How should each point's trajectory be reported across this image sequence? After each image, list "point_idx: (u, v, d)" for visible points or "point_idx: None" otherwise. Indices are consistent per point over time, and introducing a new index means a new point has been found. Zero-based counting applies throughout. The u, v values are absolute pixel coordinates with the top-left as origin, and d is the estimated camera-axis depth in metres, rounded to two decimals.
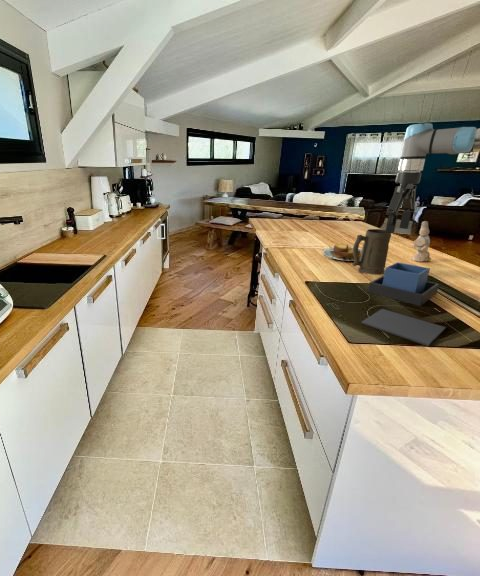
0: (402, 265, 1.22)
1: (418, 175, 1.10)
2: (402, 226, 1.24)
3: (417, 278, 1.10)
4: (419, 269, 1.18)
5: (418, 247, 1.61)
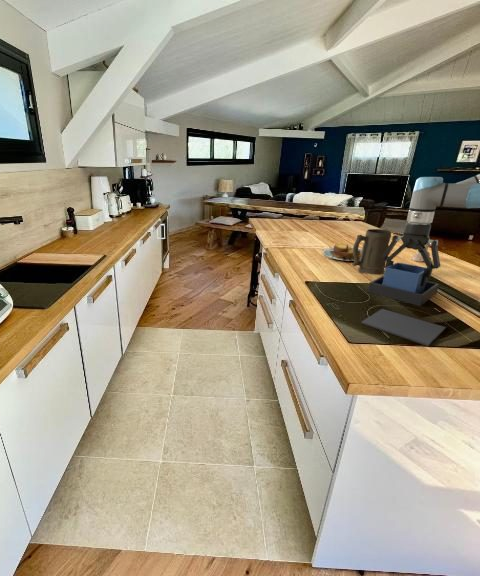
0: (402, 265, 1.22)
1: None
2: None
3: (417, 278, 1.10)
4: (419, 269, 1.18)
5: None
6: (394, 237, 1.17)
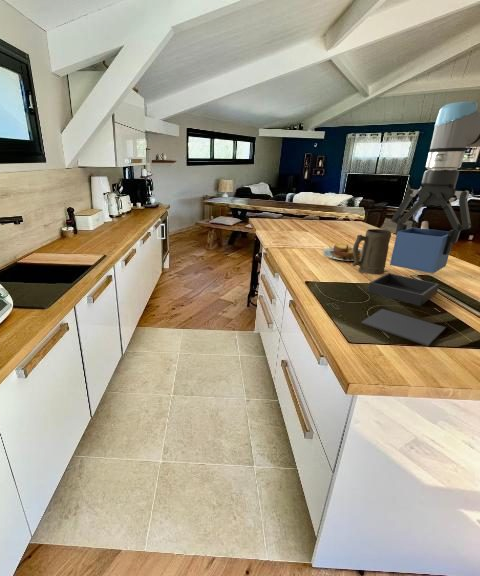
0: (418, 230, 0.95)
1: None
2: None
3: (440, 243, 0.83)
4: (441, 234, 0.91)
5: None
6: (408, 192, 0.89)
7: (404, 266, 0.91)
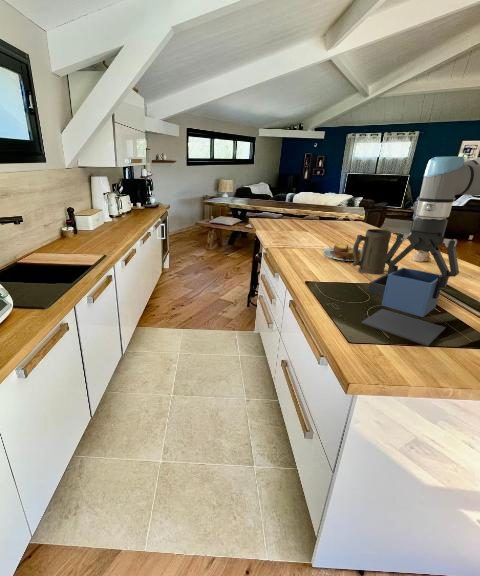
0: (409, 271, 0.97)
1: None
2: None
3: (429, 289, 0.85)
4: (430, 276, 0.93)
5: None
6: (399, 236, 0.92)
7: (395, 308, 0.93)
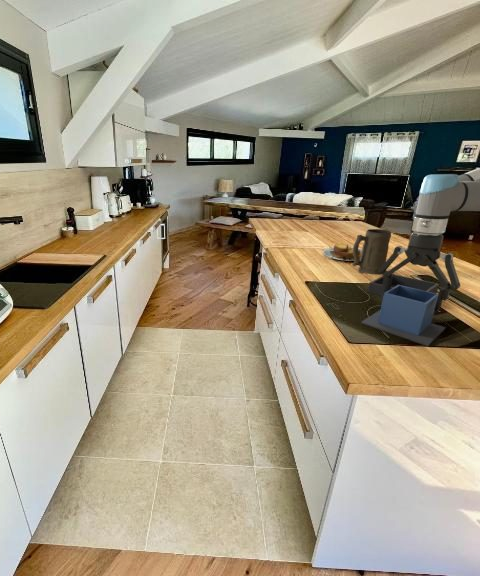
0: (404, 289, 0.99)
1: None
2: None
3: (424, 308, 0.87)
4: (426, 295, 0.95)
5: None
6: (396, 249, 0.93)
7: (391, 325, 0.95)
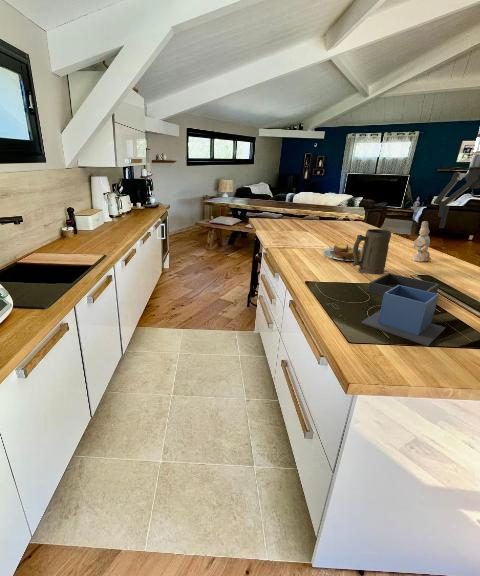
0: (404, 289, 0.99)
1: None
2: (443, 225, 0.98)
3: (424, 308, 0.87)
4: (426, 295, 0.95)
5: (418, 247, 1.61)
6: (455, 175, 0.92)
7: (391, 325, 0.95)
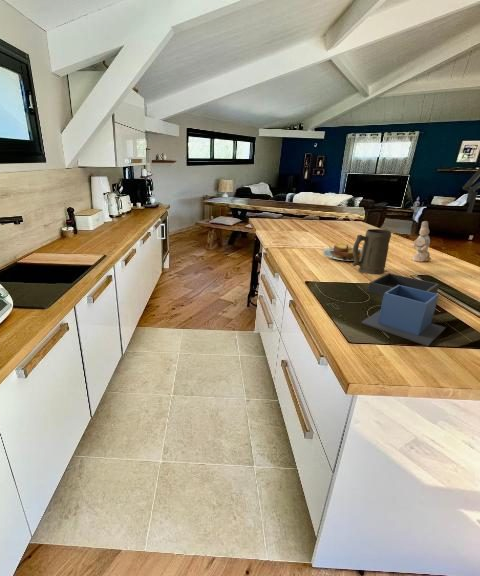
0: (404, 289, 0.99)
1: None
2: (470, 210, 1.02)
3: (424, 308, 0.87)
4: (426, 295, 0.95)
5: (418, 247, 1.61)
6: None
7: (391, 325, 0.95)
